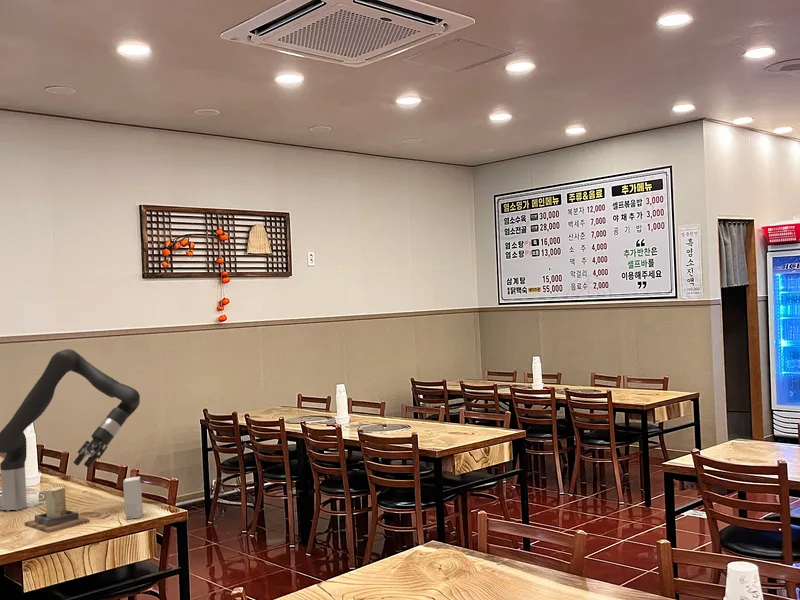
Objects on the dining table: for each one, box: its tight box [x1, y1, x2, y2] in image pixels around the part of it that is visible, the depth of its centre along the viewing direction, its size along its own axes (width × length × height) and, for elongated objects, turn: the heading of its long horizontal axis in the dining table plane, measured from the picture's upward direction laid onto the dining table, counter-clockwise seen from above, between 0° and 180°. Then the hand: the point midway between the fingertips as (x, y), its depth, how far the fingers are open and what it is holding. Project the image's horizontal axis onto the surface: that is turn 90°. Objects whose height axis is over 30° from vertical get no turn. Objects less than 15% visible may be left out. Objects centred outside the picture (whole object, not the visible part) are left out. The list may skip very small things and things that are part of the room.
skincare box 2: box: [122, 476, 144, 520], centre depth 309 cm, size 8×6×15 cm
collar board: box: [24, 509, 91, 534], centre depth 304 cm, size 20×16×4 cm
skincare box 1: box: [45, 486, 67, 519], centre depth 304 cm, size 6×4×12 cm
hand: (80, 465), depth 312 cm, fingers open, 8 cm apart
